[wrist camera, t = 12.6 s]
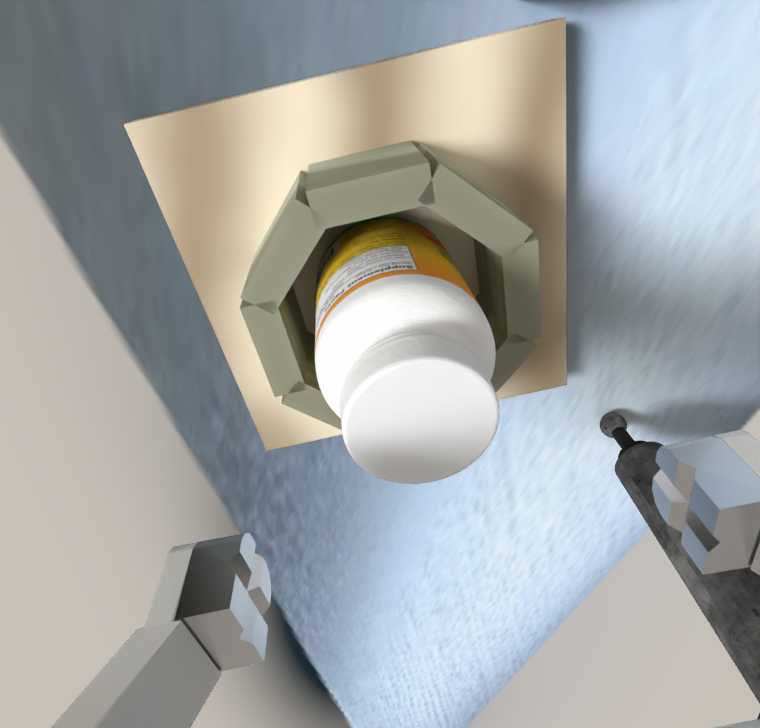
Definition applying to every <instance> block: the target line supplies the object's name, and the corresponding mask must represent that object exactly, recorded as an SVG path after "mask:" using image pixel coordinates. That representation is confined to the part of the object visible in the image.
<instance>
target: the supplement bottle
mask: <svg viewBox="0 0 760 728" xmlns="http://www.w3.org/2000/svg"><path fill="white" fill-rule="evenodd" d="M495 355H496V351H495V341H494V337H493V333H492V330H491V327H490V325H489V322H488V320H487V318H486V316H485V314H484V312H483V311H482V309H481V307H480V305H479V304H478V302H477V300H476V299H475V297H474V295H473V294H472V292H471V290H470V289H469V287H468V285H467V284H466V282H465V280H464V279H463V277H462V275H461V274H460V272H459V270H458V269H457V267H456V266H455V264H454V262H453V261H452V259H451V257H450V256H449V254H448V252H447V251H446V249H445V247H444V246H443V244H442V243H441V242H440V240H439V239H438V238H437V237H436V235H435V234H434V233H433V232H432V231H431V230H430V229H428V228H427V227H426V226H424V225H423V224H421V223H420V222H418V221H416V220H414V219H411V218H409V217H405V216H402V215H396V214H387V215H383V216H378V217H374V218H370V219H365V220H361V221H357V222H352V223H351V224H349V225H347V226H346V227H345V228H343V229H342V230H341V231H340V232H339V233H338V234H337V235H336V236H335V237H334V238H333V239H332V240H331V241H330V243H329V244H328V246H327V247H326V249H325V251H324V253H323V255H322V257H321V260H320V263H319V267H318V273H317V282H316V330H315V367H316V375H317V379H318V383H319V387H320V390H321V392H322V394H323V396H324V398H325V400H326V402H327V403H328V405H329V406H330V407H331V409H332V410H333V411H334V412H335V413H336V415H337V416H338V417H340V418H341V425H342V434H343V439H344V442H345V445H346V447H347V449H348V451H349V453H350V455H351V456H352V457H353V459H354V460H355V461H356V462H357V463H358V464H359V465H360V466H361V467H362V468H363V469H365V470H366V471H368V472H369V473H371V474H373V475H375V476H377V477H379V478H382V479H385V480H388V481H392V482H397V483H407V484H419V483H427V482H432V481H437V480H440V479H444V478H447V477H449V476H452V475H454V474H456V473H458V472H460V471H462V470H463V469H465V468H466V467H468V466H469V465H471V464H472V463H473V462H474V461H475V460H477V459H478V458H479V457H480V456H481V455H482V454H483V452H484V451H485V450H486V449H487V447H488V446H489V445H490V443H491V441H492V439H493V437H494V435H495V433H496V430H497V427H498V422H499V403H498V398H497V395H496V393H495V390H494V388H493V386H492V383H491V378H492V375H493V371H494V366H495Z"/></svg>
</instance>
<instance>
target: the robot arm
mask: <svg viewBox="0 0 760 728" xmlns="http://www.w3.org/2000/svg"><path fill="white" fill-rule="evenodd" d="M655 461H656V463H657V464H658V465H659V467H660V468H661V469H660V470H659V472H658V473H657V474H656V475H655V476H654V477H653V484H652V492H653V496H654V500H655V504H656V506H657V508H658V510H659V512H660V514H661V516H662V517H663V518H664V520H665V521H666V523H667V524H668V525H669V526H671V527H673V528H675V529H677V530H678V531H680V532H682V533H683V534H682V543H681V544H682V546H683V547H684V549H685V550H686V552H687V553H688V554H689V556H690V557H691V559H692V560H693V561H694V563H695V564H696V566H697V567H698V568H699V570H700V571H701V573H702V574H703V575H705V574H711V573H717V572H722V571H728V570H734V569H740V568H746V567H751V568H750V569H751V570H752V571H754V572H755V573H757V574H758V575H760V443H759V442H758V441H757V440H756V439H755V438H753V436H751V435H750V434H749V433H747V432H745V431H743V430H737V431H732V432H727V433H723V434H718V435H714V436H707V437H702V438H698V439H693V440H689V441H684V442H680V443H675V444H670V445H666V446H661V447H660V448H659V450H658V451H657V454H656V460H655ZM255 545H256V543H255V542H254V540H253V538H252V537H251V535H250V533H247V534H240V535H234V536H229V537H224V538H217V539H212V540H206V541H201V542H197V543H192V544H186V545H181V546H175V547H173V548H172V549H171V551H170V552H169V553H168V555H167V557H166V560H165V564H164V567H163V570H162V573H161V576H160V580H159V583H158V586H157V589H156V593H155V596H154V599H153V602H152V605H151V608H150V612H149V615H148V618H147V621H146V624H145V627H143V628H139V629H137V630H136V631H135V632H134V633H133V634H132V635H131V636H130V638H129V639H128V640H127V641H126V642H125V643H124V645H123V646H122V647H121V648H120V649H119V650H118V651H117V653H116V654H115V655H114V656H113V657H112V658H111V659H110V661H109V662H108V663H107V664H106V665H105V666H104V667H103V669H102V670H101V671H100V672H99V673H98V675H96V677H95V678H94V679H93V680H92V681H91V682H90V684H89V685H88V686H87V687H86V688H85V689H84V690H83V691H82V693H81V694H80V695H79V696H78V697H77V698H76V700H75V701H74V702H73V703H72V704H71V705H70V706H69V708H68V709H67V710H66V711H65V712H64V713H63V714H62V716H61V717H60V718H59V719H58V720H57V721H56V722H55V724H54V725H53V726H52V727H51V728H190V727H191V726H192V724H193V722H194V720H195V719H196V717H197V715H198V714H199V712H200V710H201V709H202V707H203V705H204V703H205V702H206V700H207V698H208V697H209V695H210V693H211V691H212V690H213V688H214V686H215V685H216V683H217V681H218V679H219V678H220V676H221V671H225V670H229V669H233V668H238V667H242V666H247V665H251V664H255V663H260V662H264V658H265V648H266V639H267V630H268V627H267V625H266V623H265V621H264V620H263V618H262V616H263V614H264V613H265V611H266V610H267V608H268V607H269V606H270V599H271V583H270V574H269V571H268V567H267V564H266V562H265V560H264V558H263V557H261V556H259V555H257V554H255ZM715 728H760V719H757V720H752V721H746V722H741V723H736V724H730V725H725V726H720V727H715Z"/></svg>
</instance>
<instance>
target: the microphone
mask: <svg viewBox="0 0 760 728" xmlns="http://www.w3.org/2000/svg"><path fill="white" fill-rule="evenodd" d="M600 428H601V431H602V432H603V433H604V434H605V435H606V436H608V437H611V438H614V439H615V440H616V441H617V443H618V444H619V445H620V447H621V448H622V450H621V451H620V453H619V456H618V460H617V462H616V464H615V472H616V475H617V476H618V478H619V479H620V481H621V483H622V484H623V486H624V487H625V489H626V491H627V492H628V494H629V495H630V497H631V499H632V500H633V502H634V503H635V505H636V507H637V508H638V510H639V511H640V513H641V515H642V516H643V518H644V519H645V521H646V523H647V524H648V526H649V527H650V529H651V531H652V532H653V534H654V535H655V537H656V539H657V540H658V542H659V543H660V545H661V546H662V548H663V549H664V551H665V553H666V554H667V556H668V558H669V559H670V561H671V562H672V564H673V566H674V567H675V569H676V570H677V572H678V573H679V575H680V577H681V578H682V580H683V581H684V583H685V585H686V586H687V588H688V590H689V591H690V593H691V594H692V596H693V598H694V599H695V601H696V602H697V604H698V606H699V607H700V609H701V610H702V612H703V614H704V615H705V617H706V618H707V620H708V622H709V623H710V625H711V626H712V628H713V629H714V631H715V633H716V634H717V636H718V637H719V639H720V641H721V642H722V644H723V646H724V647H725V649H726V650H727V652H728V654H729V655H730V657H731V658H732V660H733V661H734V663H735V665H736V666H737V668H738V669H739V671H740V672H741V674H742V676H743V677H744V679H745V681H746V682H747V684H748V685H749V687H750V689H751V690H752V692H753V693H754V695H755V697H756V698H757V700H758V701H759V703H760V575H758V574H757V573H755V572H754V571H752V570H751V569H750V568H751V567H746V568H740V569H734V570H728V571H722V572H717V573H711V574H705V575H703V574H702V573H701V571H700V570H699V568H698V567H697V566H696V564H695V563H694V561H693V560H692V559H691V557H690V556H689V554H688V553H687V552H686V550H685V549H684V547H683V546H682V544H681V543H682V534H683V533H682V532H680V531H678V530H677V529H675V528H673V527H671V526H669V525H668V524H667V523H666V521H665V520H664V518H663V517H662V516H661V514H660V512H659V510H658V508H657V506H656V504H655V500H654V496H653V492H652V484H653V477H654V476H655V475H656V474H657V473H658V472H659V470H660V469H661V468H660V467H659V465H658V464H657V463H656V461H655V460H656V454H657V451H658V450H659V448H660V447H661V446H663V445H662V444H660V443H657V442H645V441H634V440H633V439H632V437H631V436H630V435H629V434H628V432H627V431H626V429H627V423H626V421H625V419H624V418H623V417H622V416H621V415H619V414H616V413H609V414H606V415H605V416H603V418H602V419H601V421H600ZM758 719H760V714H759V716H758Z"/></svg>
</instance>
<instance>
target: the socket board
mask: <svg viewBox="0 0 760 728" xmlns="http://www.w3.org/2000/svg"><path fill="white" fill-rule="evenodd" d="M124 126H125V128H126V130H127V133H128V135H129V137H130V140H131V142H132V144H133V146H134V149H135V151H136V153H137V156H138V158H139V160H140V162H141V165H142V167H143V169H144V172H145V174H146V176H147V178H148V181H149V183H150V185H151V187H152V190H153V192H154V194H155V197H156V199H157V201H158V203H159V206H160V208H161V210H162V213H163V215H164V217H165V219H166V222H167V224H168V226H169V229H170V231H171V233H172V235H173V238H174V240H175V242H176V245H177V247H178V249H179V251H180V254H181V256H182V258H183V261H184V263H185V265H186V267H187V270H188V272H189V274H190V277H191V279H192V281H193V283H194V286H195V288H196V290H197V292H198V295H199V297H200V299H201V302H202V304H203V306H204V308H205V311H206V313H207V315H208V318H209V320H210V322H211V324H212V327H213V329H214V331H215V334H216V336H217V338H218V340H219V343H220V345H221V347H222V350H223V352H224V354H225V356H226V359H227V361H228V363H229V366H230V368H231V370H232V372H233V375H234V377H235V379H236V382H237V384H238V386H239V388H240V391H241V393H242V395H243V397H244V400H245V402H246V404H247V407H248V409H249V411H250V413H251V416H252V418H253V420H254V423H255V425H256V427H257V429H258V432H259V434H260V436H261V439H262V441H263V443H264V445H265V448H266V450H267V451H268V450H273V449H277V448H282V447H286V446H291V445H295V444H300V443H305V442H309V441H314V440H318V439H323V438H327V437H332V436H336V435H341V434H342V425H341V418H340V417H338V416H337V415H336V413H335V412H334V411H333V410H332V409H331V407H330V406H329V405H328V403H327V402H326V400H325V398H324V396H323V394H322V392H321V390H320V387H319V383H318V379H317V375H316V367H315V330H316V282H317V273H318V267H319V263H320V260H321V257H322V255H323V253H324V251H325V249H326V247H327V246H328V244H329V243H330V241H331V240H332V239H333V238H334V237H335V236H336V235H337V234H338V233H339V232H340V231H341V230H342V229H343V228H345V227H346V226H347V225H349V224H351V223H352V222H357V221H361V220H365V219H370V218H374V217H378V216H383V215H387V214H396V215H402V216H405V217H409V218H411V219H414V220H416V221H418V222H420V223H421V224H423V225H424V226H426V227H427V228H428V229H430V230H431V231H432V232H433V233H434V234H435V235H436V237H437V238H438V239H439V240H440V242H441V243H442V244H443V246H444V247H445V249H446V251H447V252H448V254H449V256H450V257H451V259H452V261H453V262H454V264H455V266H456V267H457V269H458V270H459V272H460V274H461V275H462V277H463V279H464V280H465V282H466V284H467V285H468V287H469V289H470V290H471V292H472V294H473V295H474V297H475V299H476V300H477V302H478V304H479V305H480V307H481V309H482V311H483V312H484V314H485V316H486V318H487V320H488V322H489V325H490V327H491V330H492V333H493V337H494V341H495V351H496V355H495V366H494V371H493V375H492V378H491V383H492V386H493V388H494V390H495V393H496V395H497V398H498V400H500V399H505V398H509V397H514V396H518V395H523V394H527V393H532V392H536V391H541V390H545V389H550V388H555V387H559V386H564V385H567V245H566V18H559V19H551V20H547V21H543V22H539V23H535V24H531V25H526V26H522V27H518V28H514V29H510V30H506V31H502V32H497V33H493V34H489V35H485V36H481V37H477V38H473V39H468V40H464V41H460V42H456V43H452V44H448V45H444V46H439V47H435V48H431V49H427V50H423V51H419V52H415V53H410V54H406V55H402V56H398V57H394V58H390V59H386V60H381V61H377V62H373V63H369V64H365V65H361V66H357V67H352V68H348V69H344V70H340V71H336V72H332V73H328V74H323V75H319V76H315V77H311V78H307V79H303V80H299V81H295V82H290V83H286V84H282V85H278V86H274V87H270V88H266V89H261V90H257V91H253V92H249V93H245V94H241V95H237V96H232V97H228V98H224V99H220V100H216V101H212V102H208V103H203V104H199V105H195V106H191V107H187V108H183V109H179V110H174V111H170V112H166V113H162V114H158V115H154V116H150V117H145V118H141V119H137V120H134V121H131V122H129V123H126V124H124Z"/></svg>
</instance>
